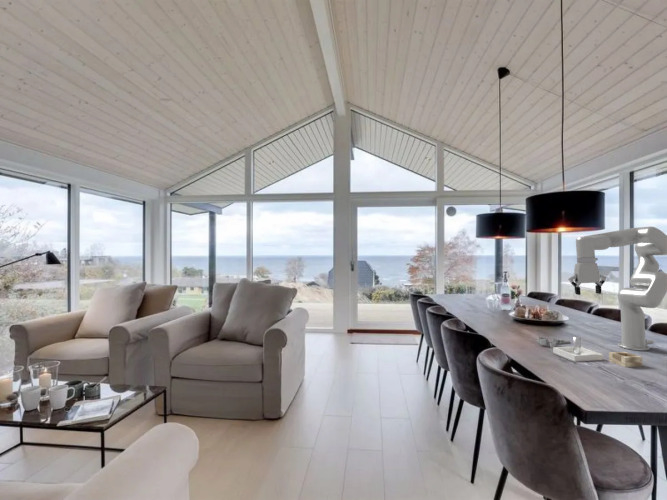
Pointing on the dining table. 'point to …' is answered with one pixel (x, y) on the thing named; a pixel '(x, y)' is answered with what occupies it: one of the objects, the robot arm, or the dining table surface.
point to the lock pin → (577, 345)
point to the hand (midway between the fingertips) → (588, 294)
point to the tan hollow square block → (625, 359)
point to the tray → (585, 355)
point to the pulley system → (554, 342)
